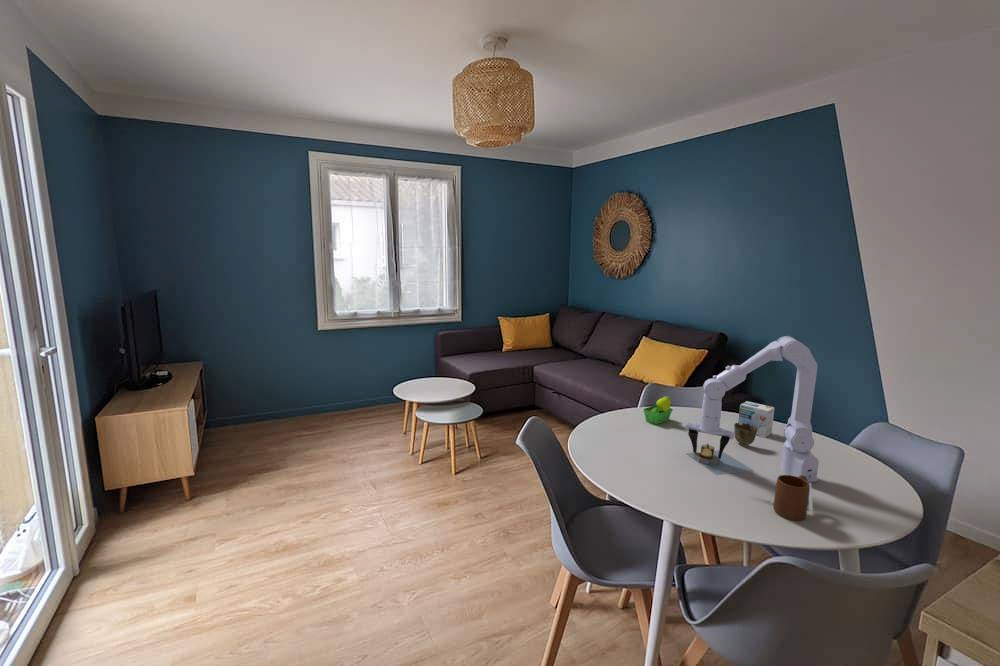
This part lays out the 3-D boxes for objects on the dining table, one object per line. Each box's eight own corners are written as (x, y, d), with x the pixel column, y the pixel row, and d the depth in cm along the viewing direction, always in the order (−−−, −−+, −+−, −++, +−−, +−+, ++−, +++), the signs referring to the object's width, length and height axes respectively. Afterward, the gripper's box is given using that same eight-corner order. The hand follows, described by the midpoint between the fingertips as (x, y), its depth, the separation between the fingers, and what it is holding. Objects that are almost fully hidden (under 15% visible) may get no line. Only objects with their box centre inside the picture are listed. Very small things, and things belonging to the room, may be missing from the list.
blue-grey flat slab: (754, 473, 150) (755, 466, 150) (715, 477, 147) (716, 470, 147) (720, 452, 166) (721, 446, 165) (684, 456, 162) (685, 449, 162)
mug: (786, 498, 135) (790, 467, 134) (816, 509, 130) (821, 477, 128) (768, 511, 128) (772, 479, 126) (799, 524, 122) (803, 491, 121)
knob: (713, 463, 155) (715, 449, 154) (700, 461, 156) (701, 447, 155) (712, 458, 159) (714, 444, 158) (699, 456, 160) (701, 442, 159)
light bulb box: (736, 430, 188) (739, 403, 186) (743, 426, 192) (746, 400, 190) (765, 438, 180) (769, 410, 178) (772, 433, 184) (775, 407, 183)
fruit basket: (656, 415, 203) (658, 389, 201) (675, 421, 197) (677, 395, 195) (641, 420, 196) (643, 394, 194) (660, 427, 189) (662, 400, 188)
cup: (750, 443, 174) (752, 422, 173) (758, 451, 167) (761, 430, 166) (729, 442, 175) (731, 421, 174) (736, 450, 168) (739, 429, 167)
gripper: (736, 416, 154) (732, 455, 157) (689, 408, 162) (686, 445, 164) (734, 422, 148) (730, 463, 151) (685, 413, 156) (682, 452, 158)
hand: (707, 454), depth 157 cm, fingers open, 7 cm apart
